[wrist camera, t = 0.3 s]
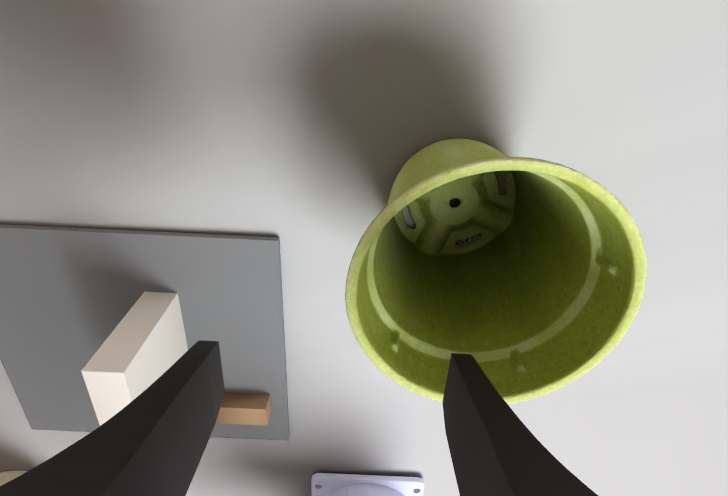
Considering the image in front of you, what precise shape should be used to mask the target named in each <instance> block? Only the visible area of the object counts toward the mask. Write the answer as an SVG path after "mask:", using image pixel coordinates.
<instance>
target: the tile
mask: <svg viewBox="0 0 728 496" xmlns="http://www.w3.org/2000/svg"><path fill="white" fill-rule="evenodd" d="M187 351H188V346H187V341H186V335H185V330H184V325H183V319H182V314H181V308H180V303H179V298H178V293H164V292H144V293H143V294H142V295H141V296H140V298H139V299H138V300H137V302H136V303H135V304H134V305H133V307H132V308H131V309H130V310H129V312H128V313H127V314H126V315H125V317H124V318H123V319H122V320H121V322H120V323H119V324H118V325H117V327H116V328H115V329H114V330H113V332H112V333H111V334H110V335H109V337H108V338H107V339H106V340H105V342H104V343H103V344H102V345H101V347H100V348H99V349H98V351H97V352H96V353H95V354H94V356H93V357H92V358H91V359H90V361H89V362H88V363H87V364H86V366H85V367H84V368H83V369H82V371H81V372H82V375H83V378H84V381H85V384H86V387H87V389H88V392H89V395H90V398H91V401H92V404H93V407H94V410H95V413H96V416H97V419H98V422H99V424H100V426H101V425H102V424H104V423H105V422H106V421H108V420H109V419H110V418H112V417H113V416H114V415H116V414H117V413H118V412H119V411H121V410H122V409H123V408H124V407H126V406H127V405H128V404H129V403H130V402H132V401H133V400H134V399H135V398H136V397H138V396H139V395H140V394H141V393H142V392H144V391H145V390H146V389H147V388H148V387H149V386H150V385H151V384H153V383H154V382H155V381H156V380H157V379H158V378H159V377H160V376H161V375H162V374H164V373H165V372H166V371H167V370H168V369H169V368H170V367H171V366H172V365H173V364H174V363H175V362H176V361H177V360H178V359H179V358H180V357H182V356H183V355H184V354H185V353H186V352H187Z"/></svg>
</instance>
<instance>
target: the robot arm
mask: <svg viewBox="0 0 728 496" xmlns="http://www.w3.org/2000/svg"><path fill="white" fill-rule="evenodd" d="M224 392H225V387H224V380H223V372H222V364H221V356H220V348H219V341H202V340H199V341H198V342H196V343H195V344H194V345H193V346H192V347H191V348H190V349H189V350H188V351H187V352H186V353H185V354H184V355H183V356H182V357H180V358H179V359H178V360H177V361H176V362H175V363H174V364H173V365H172V366H171V367H170V368H169V369H168V370H167V371H166V372H165V373H164V374H162V375H161V376H160V377H159V378H158V379H157V380H156V381H155V382H154V383H153V384H151V385H150V386H149V387H148V388H147V389H146V390H145V391H144V392H142V393H141V394H140V395H139V396H138V397H136V398H135V399H134V400H133V401H132V402H130V403H129V404H128V405H127V406H126V407H124V408H123V409H122V410H121V411H119V412H118V413H117V414H116V415H114V416H113V417H112V418H110V419H109V420H108V421H106V422H105V423H104V424H102V425H101V426H99V427H98V428H97V429H95V430H94V431H92V432H91V433H90V434H88V435H87V436H85V437H84V438H82V439H81V440H79V441H77V442H76V443H74V444H73V445H71V446H69V447H68V448H66V449H65V450H63V451H61V452H60V453H58V454H57V455H55V456H54V457H52V458H50V459H49V460H47V461H45V462H44V463H42V464H40V465H38V466H36V467H35V468H33V469H31V470H29V471H28V472H26V473H24V474H22V475H20V476H18V477H17V478H15V479H13V480H11V481H9V482H7V483H5V484H3V485H1V486H0V496H185V495H186V493H187V490H188V488H189V485H190V483H191V481H192V478H193V476H194V474H195V471H196V469H197V466H198V464H199V462H200V459H201V457H202V455H203V452H204V450H205V447H206V445H207V443H208V440H209V438H210V435H211V433H212V431H213V428H214V426H215V423H216V420H217V417H218V413H219V410H220V407H221V403H222V399H223V395H224ZM443 410H444V420H445V429H446V435H447V440H448V444H449V449H450V453H451V458H452V462H453V467H454V471H455V475H456V480H457V484H458V488H459V493H460V496H598V495H597V494H595V493H594V492H593V491H592V490H591V489H589V488H588V487H587V486H586V485H585V484H584V483H582V482H581V481H580V480H579V479H578V478H577V477H575V476H574V475H573V474H572V473H571V472H570V471H569V470H567V469H566V468H565V467H564V466H563V465H562V464H561V463H560V462H559V461H558V460H557V459H556V458H555V457H554V456H553V455H552V454H551V453H550V452H549V451H548V450H547V449H546V448H545V447H544V446H543V445H542V444H541V443H540V442H539V441H538V440H537V439H536V438H535V436H534V435H533V434H532V433H531V432H530V431H529V430H528V429H527V427H526V426H525V425H524V424H523V423H522V422H521V420H520V419H519V418H518V417H517V416H516V414H515V413H514V412H513V411H512V409H511V408H510V407H509V406H508V404H507V403H506V402H505V400H504V399H503V398H502V397H501V395H500V394H499V393H498V391H497V390H496V388H495V387H494V386H493V384H492V383H491V381H490V380H489V379H488V377H487V376H486V374H485V373H484V371H483V370H482V369H481V367H480V366H479V364H478V363H477V361H476V360H475V358H474V357H473V356H472V355H471V354H457V353H451V359H450V364H449V369H448V375H447V380H446V386H445V391H444V396H443ZM311 489H312V496H423V492H424V480H423V479H422V478H419V477H402V476H378V475H355V474H332V473H316V474H314V475H313V476H312V480H311Z"/></svg>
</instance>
